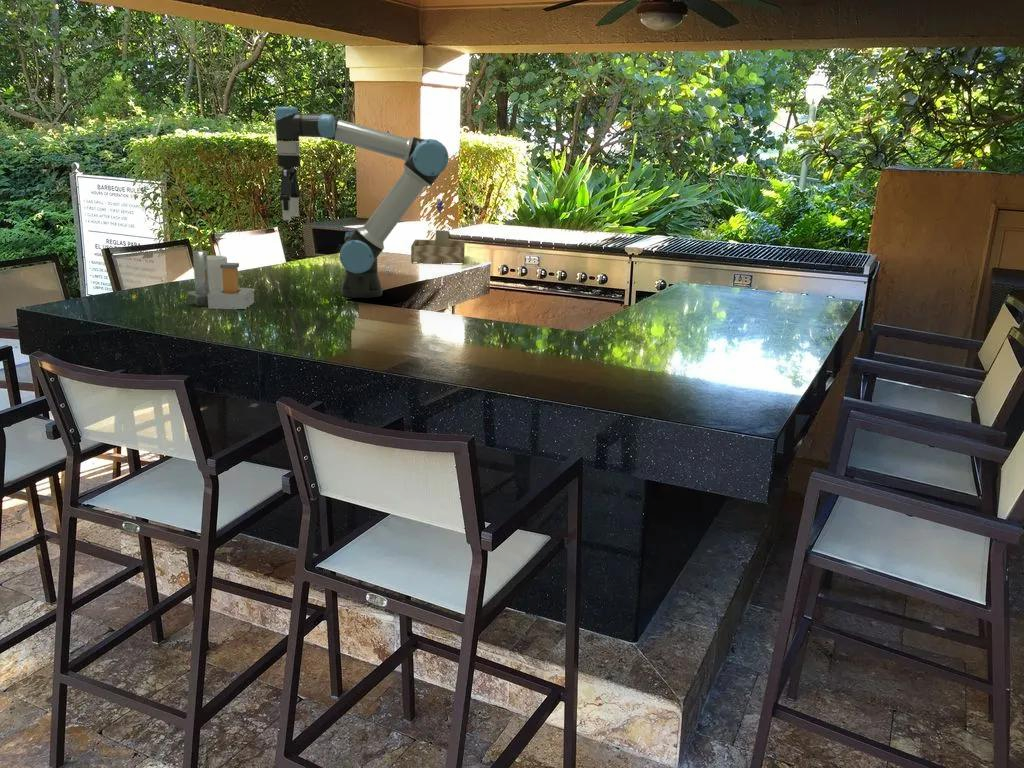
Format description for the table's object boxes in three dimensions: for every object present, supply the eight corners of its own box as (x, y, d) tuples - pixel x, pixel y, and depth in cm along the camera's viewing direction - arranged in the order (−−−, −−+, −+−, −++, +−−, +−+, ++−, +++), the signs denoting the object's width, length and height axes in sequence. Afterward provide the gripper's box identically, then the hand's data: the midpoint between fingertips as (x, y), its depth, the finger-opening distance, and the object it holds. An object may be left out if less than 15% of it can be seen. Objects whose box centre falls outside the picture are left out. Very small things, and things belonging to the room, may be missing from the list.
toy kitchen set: (471, 260, 418) (472, 229, 414) (456, 264, 403) (457, 232, 399) (437, 257, 425) (438, 226, 420) (422, 261, 410) (422, 229, 406)
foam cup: (223, 296, 305) (221, 259, 302) (197, 295, 305) (195, 258, 302) (232, 291, 314) (230, 256, 311) (207, 290, 314) (204, 255, 311)
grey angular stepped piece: (262, 296, 307) (260, 246, 302) (245, 309, 284) (242, 255, 279) (204, 295, 306) (201, 244, 301) (182, 307, 283) (178, 253, 278)
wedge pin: (241, 304, 292) (238, 263, 288) (237, 307, 287) (234, 265, 283) (226, 304, 291) (224, 262, 287) (222, 306, 287) (220, 264, 283)
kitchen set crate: (464, 257, 426) (464, 241, 424) (463, 264, 401) (463, 247, 399) (415, 255, 425) (415, 239, 423) (411, 263, 400) (411, 246, 398)
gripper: (284, 153, 301) (287, 214, 307) (268, 155, 277) (272, 221, 283) (306, 154, 302) (308, 215, 307) (292, 155, 278) (295, 221, 283)
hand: (291, 218), depth 295 cm, fingers open, 13 cm apart
